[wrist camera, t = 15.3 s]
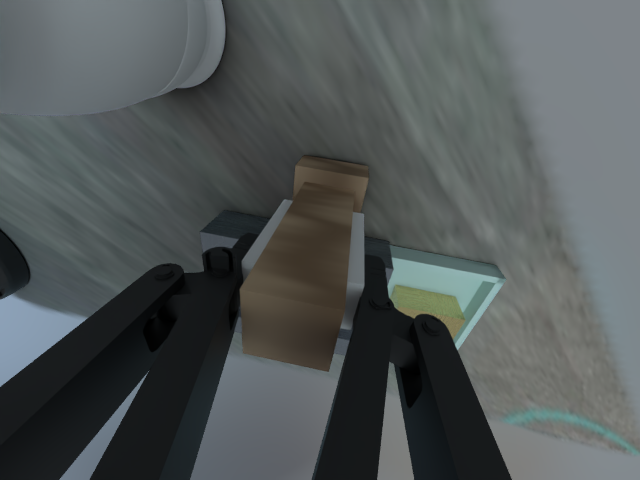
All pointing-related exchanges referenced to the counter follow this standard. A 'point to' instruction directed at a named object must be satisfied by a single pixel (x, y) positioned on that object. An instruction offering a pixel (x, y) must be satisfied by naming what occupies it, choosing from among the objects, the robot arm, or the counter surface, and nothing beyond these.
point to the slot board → (235, 225)
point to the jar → (103, 52)
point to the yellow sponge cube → (446, 311)
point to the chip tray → (448, 281)
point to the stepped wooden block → (305, 268)
